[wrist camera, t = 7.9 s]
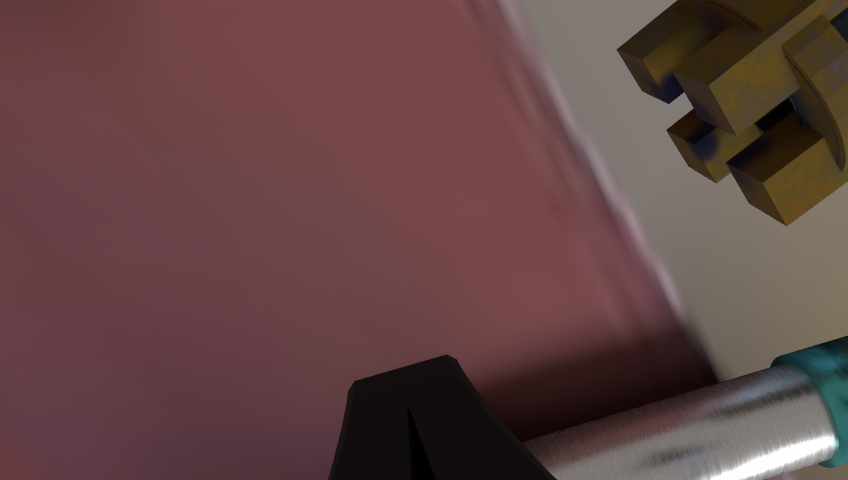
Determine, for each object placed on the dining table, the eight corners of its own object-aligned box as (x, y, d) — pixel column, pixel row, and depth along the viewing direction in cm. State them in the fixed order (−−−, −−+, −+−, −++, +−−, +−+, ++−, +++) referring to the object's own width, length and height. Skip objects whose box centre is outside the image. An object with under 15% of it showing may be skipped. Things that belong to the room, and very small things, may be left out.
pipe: (1066, 224, 22) (1200, 278, 19) (1036, 345, 24) (1150, 412, 21) (403, 420, 21) (423, 513, 18) (437, 527, 23) (460, 627, 20)
